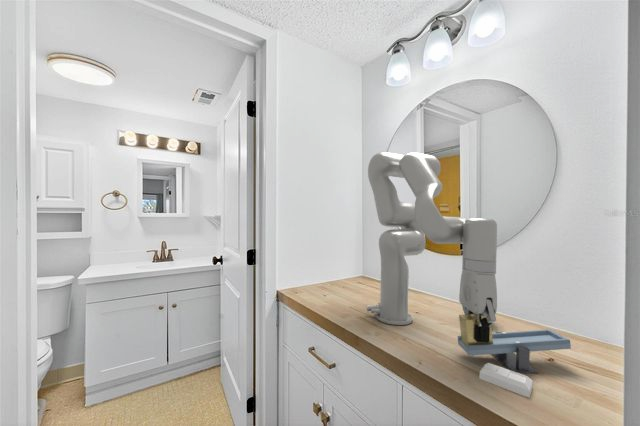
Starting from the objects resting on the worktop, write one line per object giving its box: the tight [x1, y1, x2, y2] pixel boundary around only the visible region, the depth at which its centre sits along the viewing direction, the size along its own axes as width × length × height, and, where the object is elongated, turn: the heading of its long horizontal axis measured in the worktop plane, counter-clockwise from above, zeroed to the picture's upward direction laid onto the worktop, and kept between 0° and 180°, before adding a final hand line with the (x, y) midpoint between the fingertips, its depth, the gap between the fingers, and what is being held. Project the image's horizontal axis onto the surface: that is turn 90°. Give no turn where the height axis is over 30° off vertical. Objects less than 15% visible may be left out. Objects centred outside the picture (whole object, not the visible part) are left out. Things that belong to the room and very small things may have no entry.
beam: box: [457, 328, 572, 357], centre depth 69 cm, size 24×7×2 cm, turn 87°
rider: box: [458, 313, 493, 346], centre depth 69 cm, size 6×4×7 cm, turn 87°
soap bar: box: [478, 362, 534, 399], centre depth 60 cm, size 5×9×3 cm, turn 46°
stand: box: [491, 331, 539, 375], centre depth 69 cm, size 6×10×6 cm, turn 177°
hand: (477, 336), depth 69 cm, fingers closed on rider, 3 cm apart
